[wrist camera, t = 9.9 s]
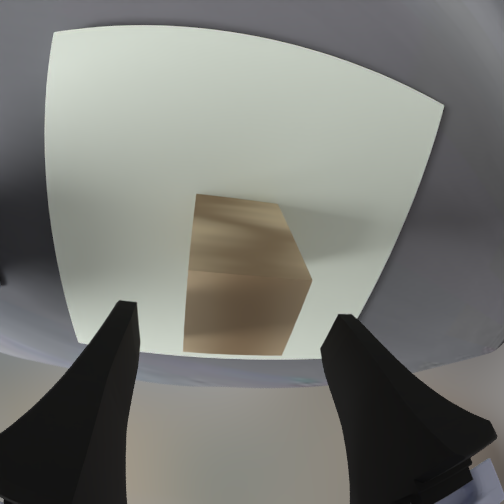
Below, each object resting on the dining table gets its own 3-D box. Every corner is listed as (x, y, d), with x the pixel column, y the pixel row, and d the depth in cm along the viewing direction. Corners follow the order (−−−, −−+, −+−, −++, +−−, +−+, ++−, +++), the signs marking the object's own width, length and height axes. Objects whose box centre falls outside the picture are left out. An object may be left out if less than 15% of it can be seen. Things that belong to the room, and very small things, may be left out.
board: (83, 327, 20) (78, 342, 19) (67, 34, 9) (54, 32, 8) (329, 344, 24) (334, 357, 23) (428, 101, 14) (444, 105, 12)
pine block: (188, 262, 16) (183, 351, 11) (196, 193, 14) (188, 270, 9) (260, 269, 17) (281, 355, 12) (277, 203, 15) (312, 280, 10)
